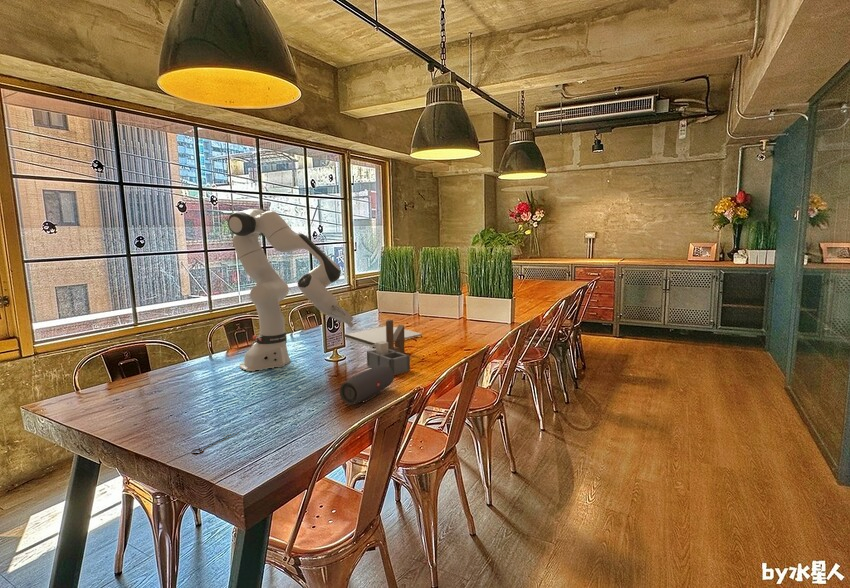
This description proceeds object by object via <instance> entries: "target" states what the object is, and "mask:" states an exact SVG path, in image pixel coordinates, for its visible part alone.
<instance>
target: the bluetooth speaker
mask: <svg viewBox="0 0 850 588" xmlns="http://www.w3.org/2000/svg"><path fill="white" fill-rule="evenodd" d="M394 379H395V375H393V372H392V370H391V368H390V367H389V366H387V365H380V366H377V367H375V368H370V369H367V370H365V371H363V372H361V373H358V374H357V375H355V376H353V377H351V378H349V379H347V380H346V381H344V382H343V383H342V384H341V385H340V387H339V396H340V399H341V400H342V401H343V402H344V403H345V404H347V405H350V406H352V405H356V404H358V403H364V402H363V401H365V402H367V401H369V400H371V399H372V397H373V398H375V397H376V396H378V395H379V393H380V392H381V391H383V390H384V389H386V388H388V387H389V386H390V385H392V383H393V382H394ZM377 394H378V395H377ZM375 395H376V396H375ZM374 396H375V397H374ZM370 398H371V399H370ZM368 399H369V400H368ZM366 400H367V401H366Z"/></svg>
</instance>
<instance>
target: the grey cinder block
mask: <svg viewBox="0 0 850 588" xmlns="http://www.w3.org/2000/svg"><path fill="white" fill-rule="evenodd" d="M410 358H411V357H410V355H408V354H406V353H400V352H397V351H394V350H391V349H388V353H385V354H381V355H380V354H377V353H376V348H374V349H373V350H372V349H371V350H367V351H366V366H367V367H368V368H370V367H371V368H370V369H372V368H375V367H377V366H380V365H387V366H389V367H390V368H391V370H392V372H393V375H394V376H397V375H401V374H404V373H408V372H411V371H410V370H411V365H410V363H411V362H410V360H411V359H410Z"/></svg>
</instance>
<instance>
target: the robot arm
mask: <svg viewBox="0 0 850 588" xmlns="http://www.w3.org/2000/svg"><path fill="white" fill-rule="evenodd" d="M227 225H228V229H229V231H230V232H231V234H234V235H233V237H232V243H233V247H234V249H235V253H236V255H237V257H238V259H239V261H240V263H241V265H242V268H243V270H244V271H245V273H246V274H247V276H248V277H250V279H252V281H254V282H255V286H253V287H252V288H251V290H250V292H249V299H250V301H251V302H252V303H253V305H254V306H255V309H256V312H257V316H258V322H259V323H258V324H259V334H258V335H256V334H254V335H252V339H253V340H255V341H256V343H255V344H254V345H253V346H251V347H250V348H248V350H247V351H246V352H245V354H244V358H243V359H244V360H243V362H240V363H239V365H238V366H239V369H240V370H242V369H243V370H242V371H244V370H246V371H245V372H249V371H252V372H256V371H255V370H259V371H262V370H261V369H265V370H268V369H267V368H272V369H275V368H274V367H278V368H282V366H284V367H285V366H286V365H288V364H289V363H290V362H291V358H290V356H289V355H290V354H289V351H288V347H287V339H288V337H287V332H286V325H285V316H284V313H282V309H281V307H280V302H282V301H283V300H284V299H285V298H286V297H287V296H288V294H289V290H290V288H289V285H288V283H287V282H286V281H284V280H283V279H282V278H281V276H280V275H279V274H278V273H277V271H276V270H275V269H274V268H273V266H272V265H271V263H270V261H269V259H268V258H267V257H268V256H267V255H266V253H265V251H264V249H263V247H262V245H261V243H260V242H259V236H261V237H262V236H264V237H265V239H266V240H267V241H268V243H269V244H270V246H271V247H272V248H273V249H275V251H277V252H279V253H290V252H293V251H297V250H298V251H299V250H306V251H308V252H309V253H310V254H311V255H312V256H313V257H314V258H315V259H316V260H317V261H318V262H319V264H318V265H317V266H316V267H314V268H313V269H312V270H310V271H308V272H307V273H305V274H303V275H301V276H300V278H299V279H298V281H297V287H298V288H299V290H300V292H301V293H302V294H303V295H304V296H305V298H307V300H308V301H309V302H312V303H313V306H314V308H315V309H317V310H318V311H319V312H321V314H323V315H326V316H327V315H328V316H327V317H330V318H332V319H334V320H335V321H337V322H338V323H339V324H340V323H341V324H342V323H343V324H344V323H345V324H347V326H348V327H350V328H353V327H354V325H355V324H354V323H353V322H352V321H353V320H354V318H353V316H352V314H350V313H349V312H348V311H347V310H346V309H345V308H344V307H342V306H339V305H338V304H339V301H338V299H337V297H336V296H335V295H334V294H333V293H332V292H331V291H329V290H328V289H327V287H328V286H330V285H331V284H333V283H335V282H337V281H338V280H339V279H340V277H341V275H342V274H341V273H342V272H341V271H342V270H341V268H340V266H339V265H338V263H336V262H335V261H334V260H332V259H331V258H330V257H328V255H326V253H325V252H323V250H321V249H320V247H318V245H316V243H314V242H313V241H312V240H311V239H310V238H309V237H308V236H306V235H305V234H303V233H302V232H300V233H299V232H298V233H297V232H295V231H294V230H293V229H292V228H291V227H290V226H289V224H288V223H287V222H286V221H285V220H284V218H283V217H281V216H280V214H279V213H277V211H274V210H266V209H265V208H249V209H246V210H241V211H239V210H238V211H235V212H233V213H231V214H230V216H229V217H228V219H227ZM285 364H286V365H285Z"/></svg>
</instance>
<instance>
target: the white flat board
mask: <svg viewBox="0 0 850 588" xmlns="http://www.w3.org/2000/svg"><path fill="white" fill-rule="evenodd" d="M397 327H398V326H397ZM397 327H396V326H393V334H394V332H395V331H396V329H397ZM418 336H422V337H423V333H421V332H418V331H417V332H416V331H413V330H408V329H406V328H404V340H405V339H409V338H413V337H418ZM345 337H346V339H345V340H347V341H349V342H352V343H355V344H358V343H359V344H358V345H361V344H362V345H361V346H364V345H365V347H368V346H369V347H368V348H371V349H374V348H373V347H375V348H376V342H380V341H385V342H386V325H384V326H379V327H375V328H369V329H364V330H360V331H354V332H351V333H350V332H349V333H345Z"/></svg>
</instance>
